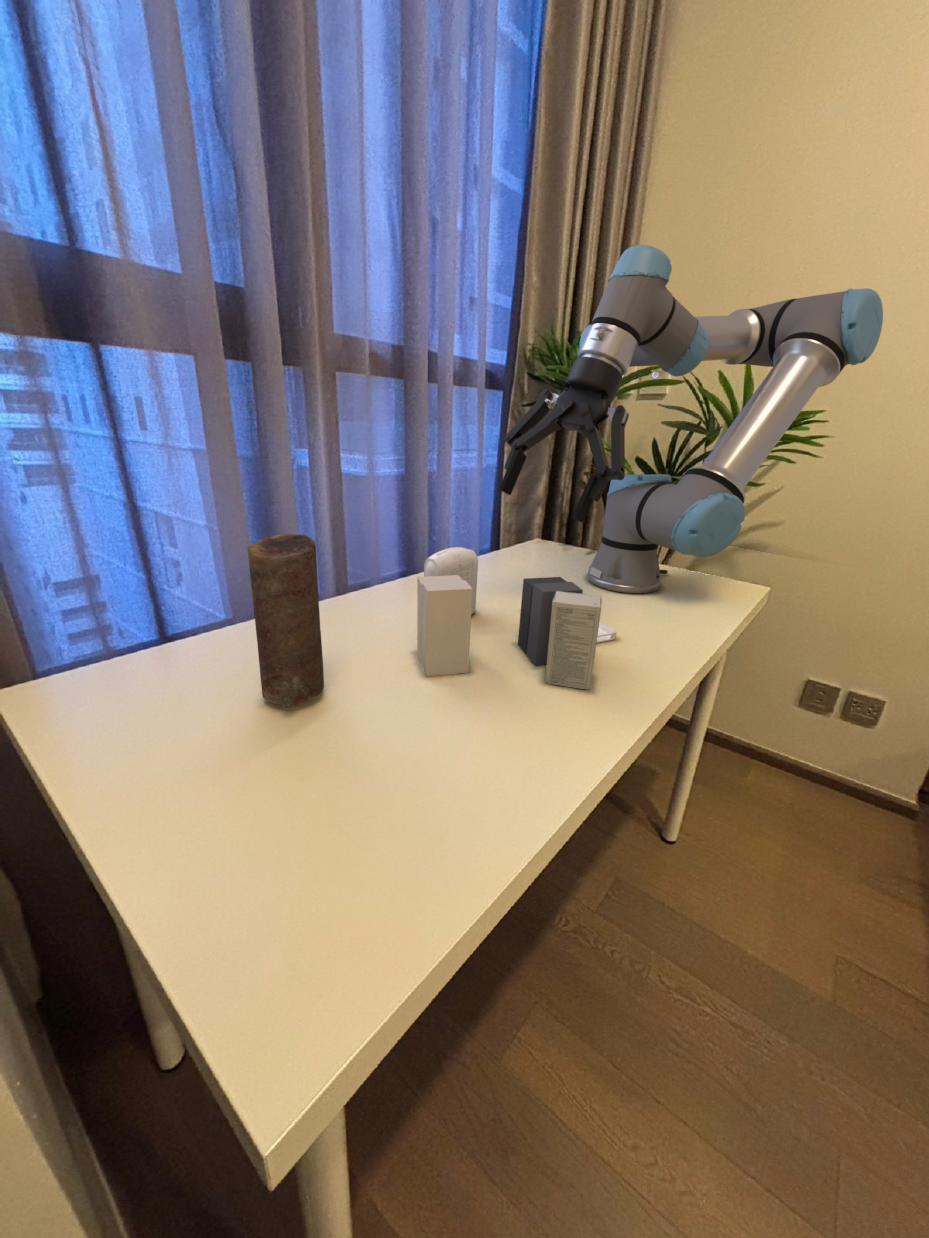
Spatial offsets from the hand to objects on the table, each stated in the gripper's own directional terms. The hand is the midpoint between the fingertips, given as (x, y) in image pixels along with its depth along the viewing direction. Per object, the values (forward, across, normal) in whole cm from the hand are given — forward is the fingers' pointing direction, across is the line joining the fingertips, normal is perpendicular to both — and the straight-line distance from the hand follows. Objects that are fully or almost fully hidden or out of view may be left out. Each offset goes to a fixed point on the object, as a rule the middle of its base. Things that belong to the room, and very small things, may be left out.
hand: (539, 505), depth 77 cm
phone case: (+16, +8, +14) cm, 23 cm away
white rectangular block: (+26, +1, -10) cm, 28 cm away
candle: (+35, -5, -28) cm, 45 cm away
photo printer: (+23, -9, +3) cm, 25 cm away
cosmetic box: (+21, +17, -3) cm, 27 cm away
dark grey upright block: (+20, +10, +2) cm, 23 cm away
